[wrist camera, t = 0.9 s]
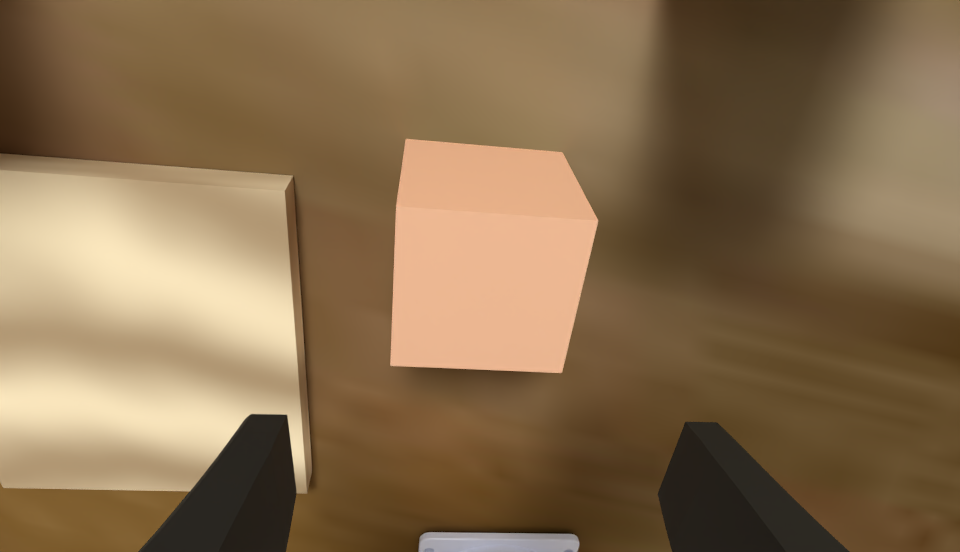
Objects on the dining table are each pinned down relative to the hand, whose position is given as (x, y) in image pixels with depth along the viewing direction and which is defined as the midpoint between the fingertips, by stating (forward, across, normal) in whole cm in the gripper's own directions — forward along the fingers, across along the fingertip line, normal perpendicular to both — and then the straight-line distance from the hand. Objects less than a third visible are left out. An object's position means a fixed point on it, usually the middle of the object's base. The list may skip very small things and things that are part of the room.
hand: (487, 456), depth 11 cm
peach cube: (+10, 0, 0) cm, 11 cm away
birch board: (+10, +12, +6) cm, 17 cm away
